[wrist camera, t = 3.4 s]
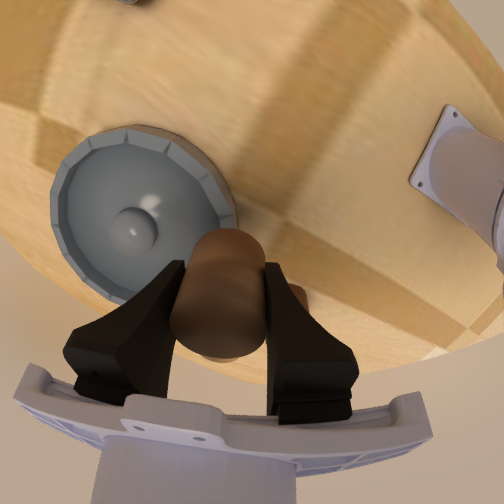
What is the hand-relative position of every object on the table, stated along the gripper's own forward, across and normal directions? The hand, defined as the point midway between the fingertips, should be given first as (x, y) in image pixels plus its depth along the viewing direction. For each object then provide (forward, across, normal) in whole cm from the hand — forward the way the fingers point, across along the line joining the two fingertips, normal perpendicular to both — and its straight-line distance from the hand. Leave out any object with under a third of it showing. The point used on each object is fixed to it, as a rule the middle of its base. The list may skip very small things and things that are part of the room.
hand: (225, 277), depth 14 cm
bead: (+2, 0, 0) cm, 2 cm away
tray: (+9, +8, +2) cm, 12 cm away
